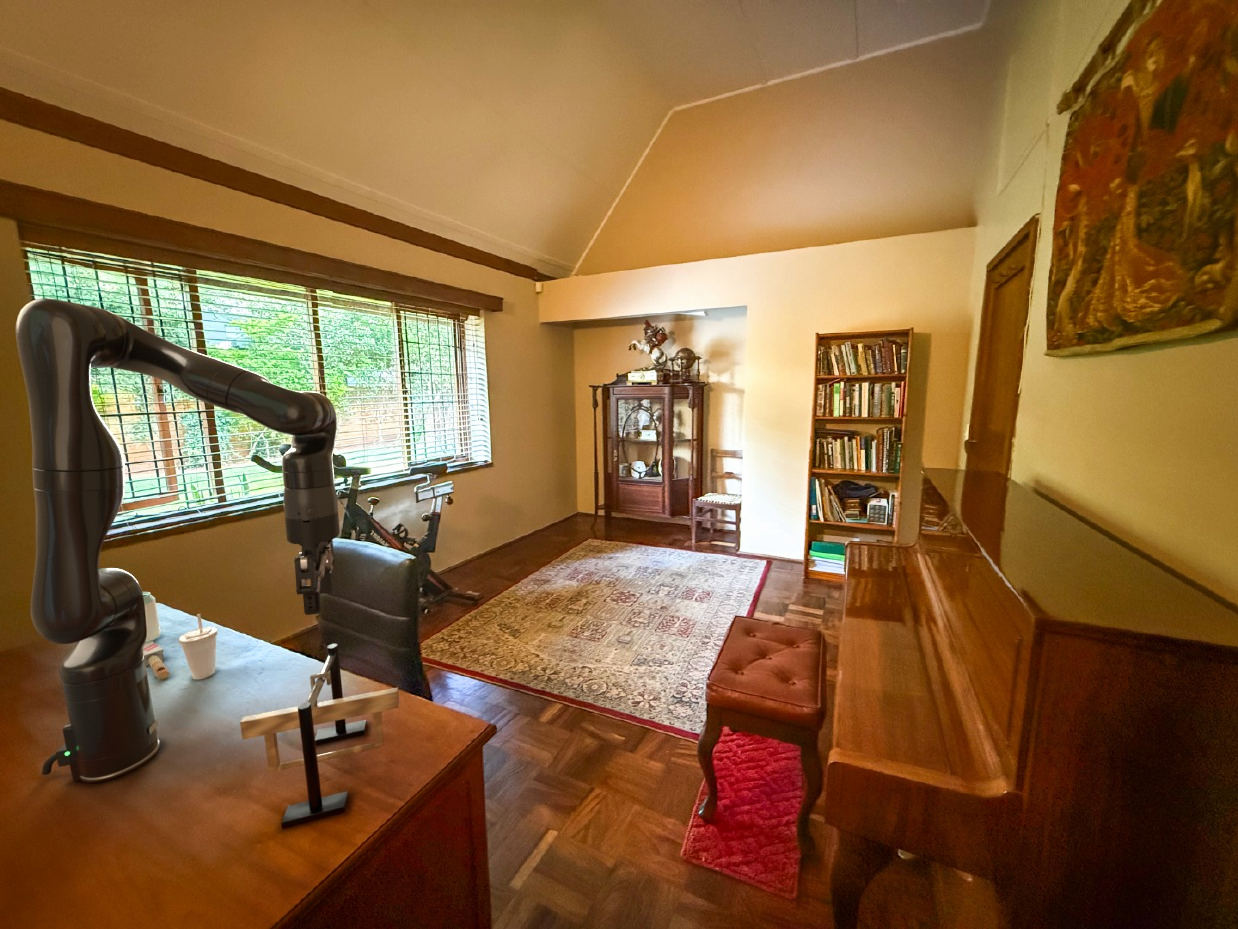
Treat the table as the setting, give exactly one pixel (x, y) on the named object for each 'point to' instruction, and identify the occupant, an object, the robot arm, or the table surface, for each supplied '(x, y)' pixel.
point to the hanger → (320, 722)
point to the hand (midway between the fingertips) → (319, 602)
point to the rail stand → (341, 730)
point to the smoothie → (200, 650)
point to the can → (151, 617)
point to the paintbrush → (155, 659)
